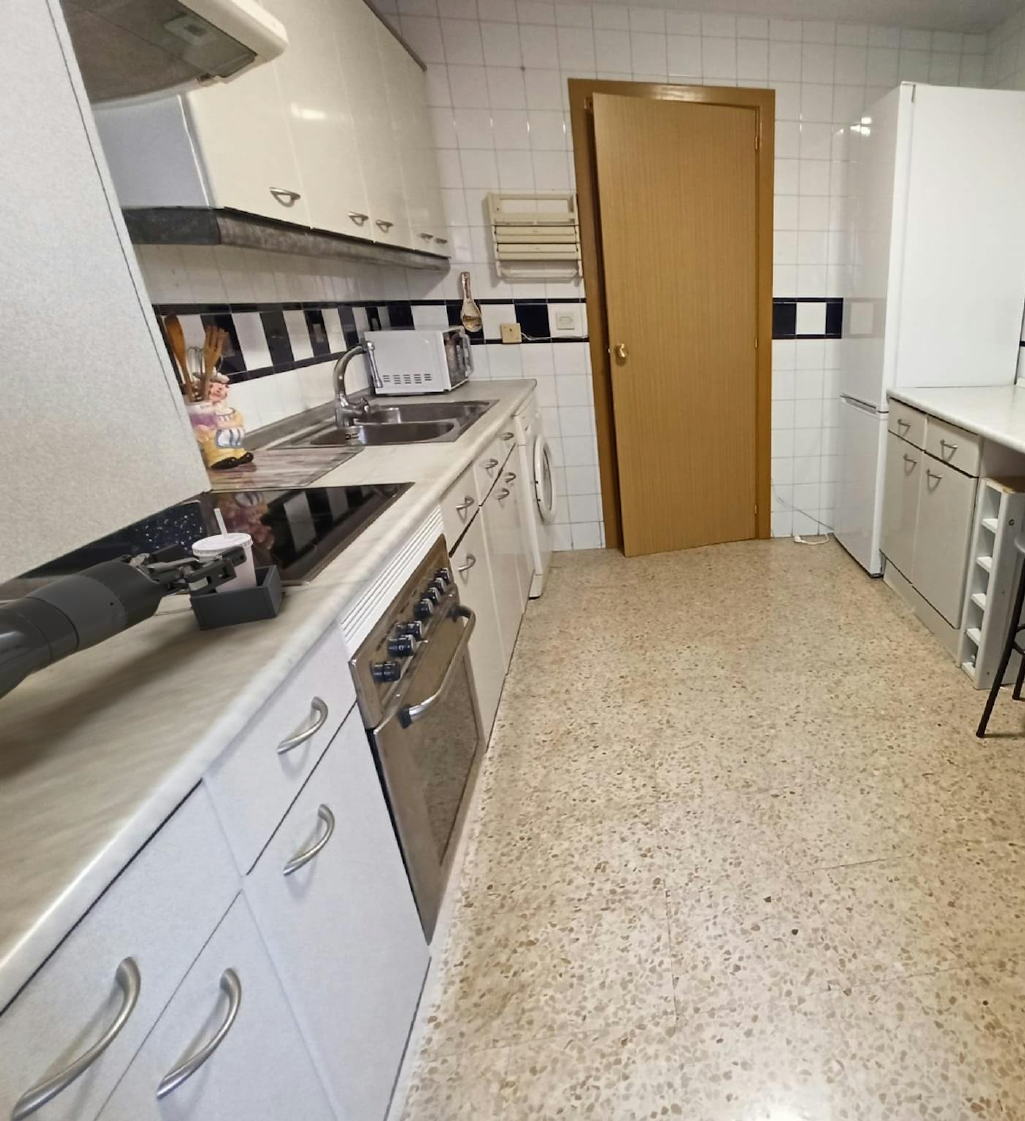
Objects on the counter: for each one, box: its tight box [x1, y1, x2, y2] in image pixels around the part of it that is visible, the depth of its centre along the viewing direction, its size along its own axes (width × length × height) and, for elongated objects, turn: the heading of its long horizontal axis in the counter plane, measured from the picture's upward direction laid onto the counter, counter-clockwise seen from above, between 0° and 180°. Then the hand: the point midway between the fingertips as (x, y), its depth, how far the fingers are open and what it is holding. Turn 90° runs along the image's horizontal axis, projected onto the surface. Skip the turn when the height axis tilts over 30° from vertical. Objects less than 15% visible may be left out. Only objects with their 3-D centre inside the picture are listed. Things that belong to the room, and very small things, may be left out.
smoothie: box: [191, 507, 257, 593], centre depth 87 cm, size 6×6×14 cm
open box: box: [188, 564, 285, 631], centre depth 89 cm, size 8×8×5 cm
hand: (211, 552), depth 85 cm, fingers open, 8 cm apart
